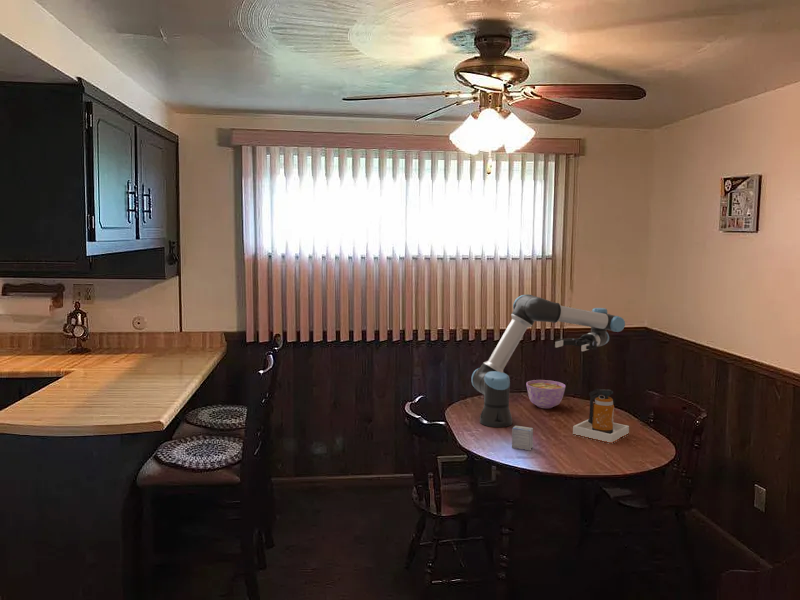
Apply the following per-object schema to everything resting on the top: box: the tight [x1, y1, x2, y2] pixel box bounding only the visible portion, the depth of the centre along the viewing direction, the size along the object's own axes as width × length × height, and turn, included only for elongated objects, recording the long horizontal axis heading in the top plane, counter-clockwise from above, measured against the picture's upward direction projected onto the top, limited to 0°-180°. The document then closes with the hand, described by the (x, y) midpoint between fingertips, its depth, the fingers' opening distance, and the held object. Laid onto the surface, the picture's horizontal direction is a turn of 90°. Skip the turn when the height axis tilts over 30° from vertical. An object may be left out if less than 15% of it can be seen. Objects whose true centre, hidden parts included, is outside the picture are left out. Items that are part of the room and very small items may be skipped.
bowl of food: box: [526, 379, 566, 409], centre depth 341 cm, size 20×20×12 cm
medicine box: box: [511, 425, 534, 451], centre depth 277 cm, size 8×4×9 cm, turn 65°
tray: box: [572, 417, 630, 442], centre depth 296 cm, size 18×18×4 cm
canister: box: [587, 387, 615, 434], centre depth 295 cm, size 9×11×20 cm
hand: (568, 346), depth 313 cm, fingers open, 13 cm apart
